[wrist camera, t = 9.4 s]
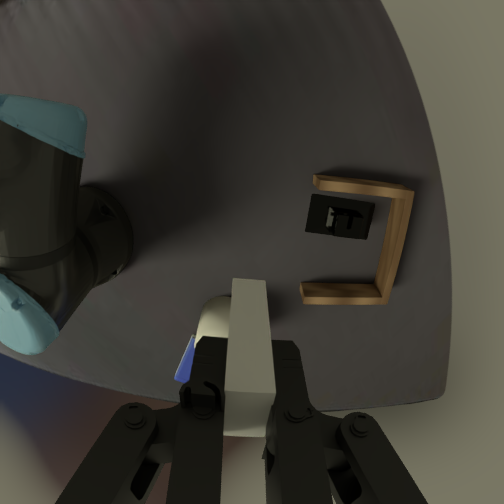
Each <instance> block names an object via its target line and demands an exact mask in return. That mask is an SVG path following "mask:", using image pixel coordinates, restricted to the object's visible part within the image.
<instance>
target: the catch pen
mask: <svg viewBox="0 0 504 504" xmlns="http://www.w3.org/2000/svg"><path fill="white" fill-rule="evenodd" d="M313 184H314V185H315V186H316V187H317V188H318V189H319V190H325V191H337V192H347V193H357V194H367V195H375V196H384V197H392V202H391V207H390V213H389V218H388V223H387V228H386V233H385V238H384V243H383V247H382V252H381V256H380V260H379V264H378V268H377V272H376V276H375V280H374V284H343V283H303V282H301V284H300V292H301V296H302V300H303V304H339V305H356V304H387V303H388V299H389V296H390V293H391V289H392V286H393V283H394V279H395V276H396V272H397V268H398V265H399V261H400V257H401V253H402V249H403V245H404V240H405V236H406V232H407V227H408V223H409V218H410V213H411V208H412V203H413V197H414V191H413V190H411V189H409V188H407V187H405V186H403V185H401V184H394V183H387V182H379V181H372V180H364V179H355V178H346V177H337V176H327V175H316V174H314V176H313Z"/></svg>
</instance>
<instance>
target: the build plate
mask: <svg viewBox="0 0 504 504" xmlns="http://www.w3.org/2000/svg"><path fill="white" fill-rule="evenodd" d="M374 207H375V203H370V202H364V201H358V200H352V199H345V198H339V197H332V196H326V195H319V194H312V196H311V202H310V207H309V212H308V218H307V223H306V228H305V232H311V233H319V234H327V235H333V236H338V237H346V238H354V239H364V240H366V239H367V237H368V233H369V229H370V225H371V220H372V216H373V212H374Z"/></svg>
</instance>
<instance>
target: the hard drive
mask: <svg viewBox="0 0 504 504" xmlns="http://www.w3.org/2000/svg"><path fill="white" fill-rule="evenodd" d="M195 338H196V335H194V334H193V335H192V337H191V339H190V342H189V344H188V346H187V349H186V351H185V353H184V355H183V358H182V360H181V362H180V365H179V367H178V369H177V372H176V374H175V377H174V379H175V380H177V381H180V382H183V383H186V382H187V381H189V378H190V372H191V367H192V362H193V356H194V351H195V347H194V343H195Z"/></svg>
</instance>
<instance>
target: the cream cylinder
mask: <svg viewBox="0 0 504 504" xmlns="http://www.w3.org/2000/svg"><path fill="white" fill-rule="evenodd" d="M230 308H231V297H227V296H218V297H214V298H212V299H210V300H208V301H207V302H206V303H205V304H204V306H203V309H202V313H201V317H200V321H199V325H198V330H197V334H196V338H195V343H194V347H195V346H196V343H197V342H198V341H199V340H200V339H201V337H202V336H212V337H224V338H228V334H229V321H230Z"/></svg>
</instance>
